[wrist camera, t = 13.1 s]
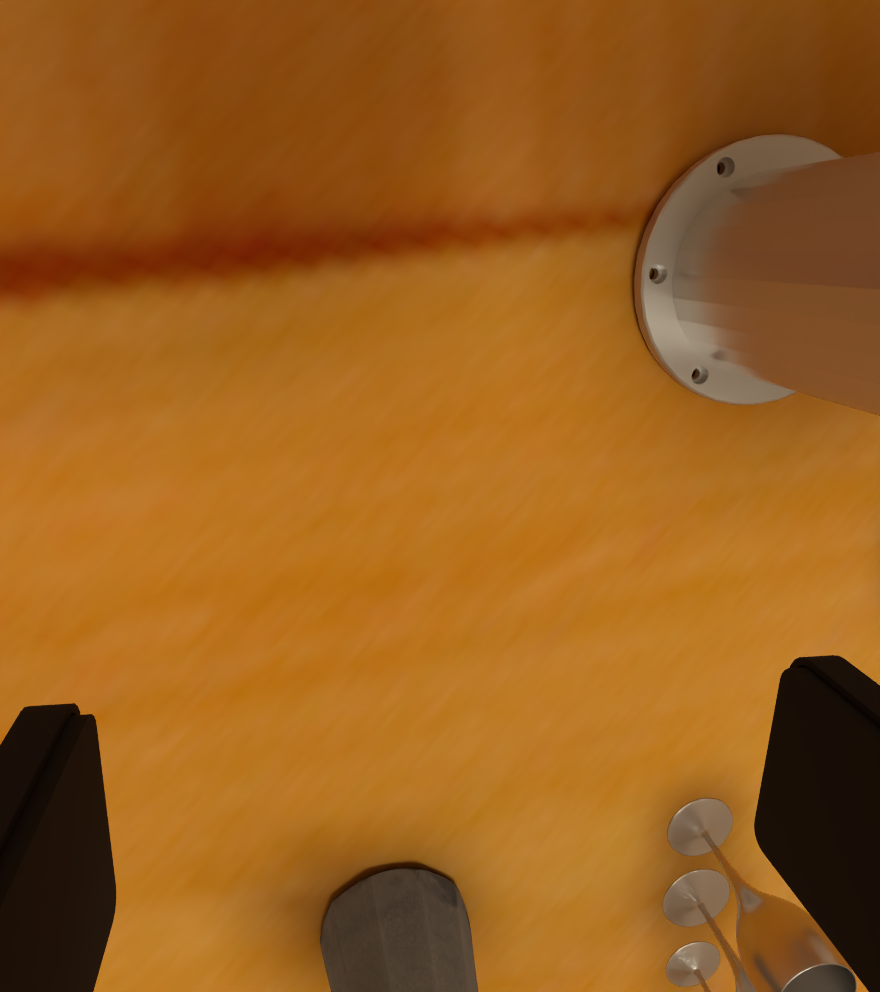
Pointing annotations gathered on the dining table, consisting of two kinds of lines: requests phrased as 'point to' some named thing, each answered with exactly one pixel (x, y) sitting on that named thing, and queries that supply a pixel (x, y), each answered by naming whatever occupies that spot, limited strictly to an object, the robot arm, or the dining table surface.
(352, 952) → the moka pot
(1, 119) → the dining table surface
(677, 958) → the goblet set
